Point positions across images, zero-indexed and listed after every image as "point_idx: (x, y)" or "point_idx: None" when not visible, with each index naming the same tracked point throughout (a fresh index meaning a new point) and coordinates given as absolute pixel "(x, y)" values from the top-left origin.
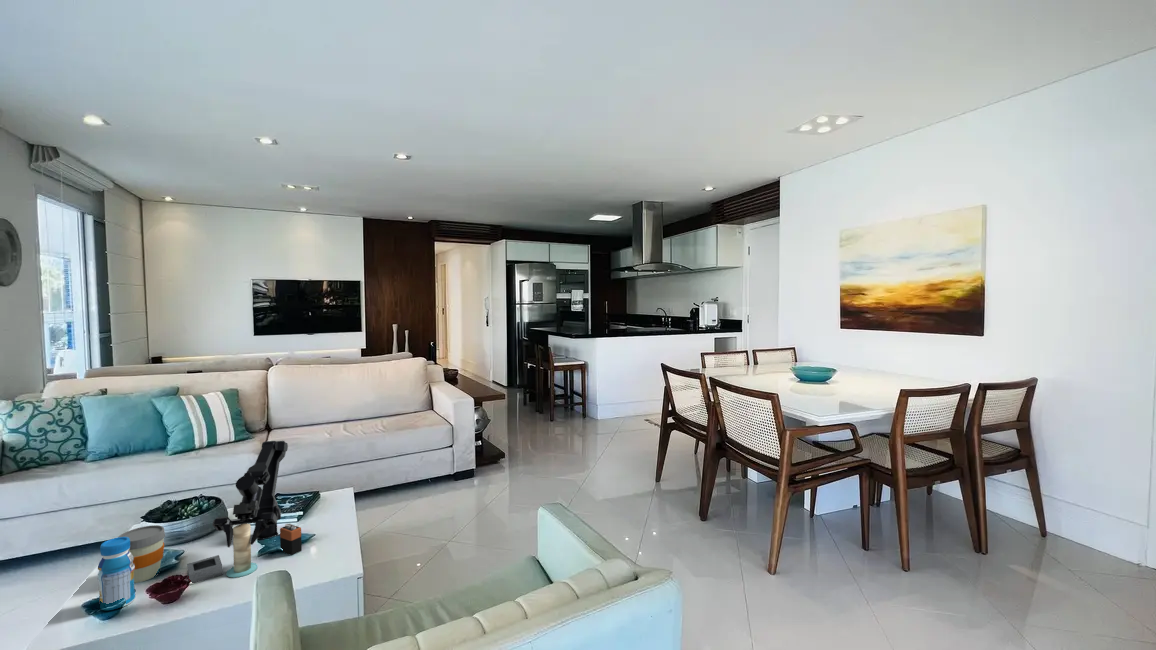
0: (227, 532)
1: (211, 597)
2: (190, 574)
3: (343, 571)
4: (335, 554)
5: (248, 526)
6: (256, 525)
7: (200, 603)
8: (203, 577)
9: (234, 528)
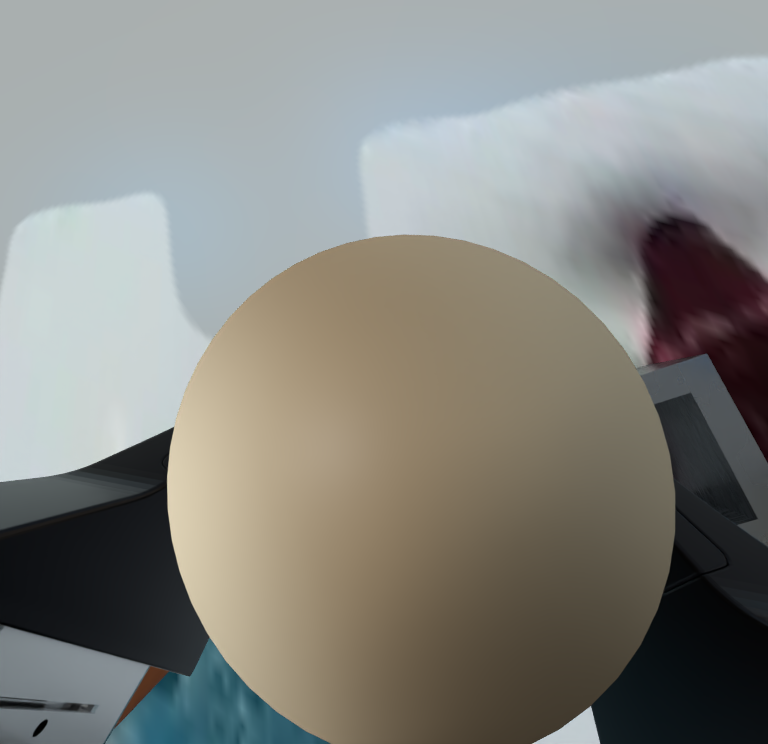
0: (734, 550)
1: (490, 209)
2: (696, 357)
3: (37, 247)
4: (40, 410)
5: (210, 418)
6: (80, 499)
7: (521, 175)
8: None
9: (614, 413)
